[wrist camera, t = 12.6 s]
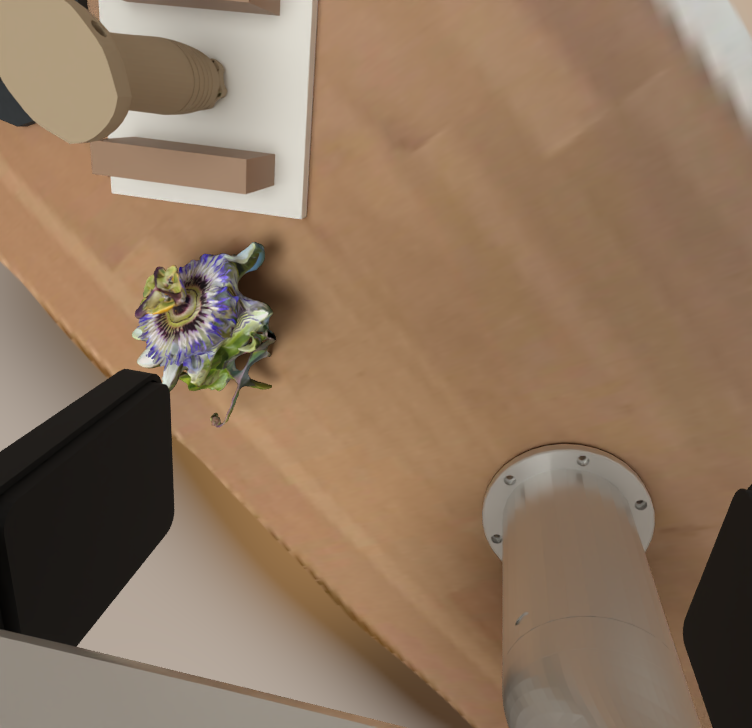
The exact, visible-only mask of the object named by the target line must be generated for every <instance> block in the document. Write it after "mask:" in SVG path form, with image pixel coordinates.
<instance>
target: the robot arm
mask: <svg viewBox="0 0 752 728" xmlns="http://www.w3.org/2000/svg"><path fill="white" fill-rule="evenodd" d="M580 456H584V457H580ZM172 464H173V463H172V436H171V409H170V391H169V388H168V386H167V385H166V384H162V382H161V379H160V377H159V376H158V375H157V374H151V373H146V372H140V371H135V370H129V369H123V370H121V371H119V372H118V373H116V374H115V375H113V376H112V377H110V378H109V379H107V380H106V381H105V382H103V383H101V384H100V385H98V386H97V387H95V388H94V389H93V390H91V391H89V392H88V393H87V394H85V395H84V396H82V397H81V398H79V399H78V400H76V401H75V402H73V403H72V404H70V405H69V406H67V407H66V408H65V409H63V410H61V411H60V412H58V413H57V414H55V415H54V416H52V417H51V418H49V419H48V420H47V421H45V422H44V423H42V424H41V425H39V426H38V427H36V428H35V429H33V430H32V431H31V432H29V433H27V434H26V435H24V436H23V437H21V438H20V439H18V440H17V441H15V442H14V443H13V444H11V445H10V446H8V447H7V448H5V449H4V450H2V451H1V452H0V728H406V727H402V726H398V725H394V724H390V723H386V722H382V721H378V720H374V719H370V718H366V717H362V716H358V715H354V714H350V713H346V712H342V711H338V710H334V709H330V708H325V707H321V706H317V705H313V704H309V703H305V702H301V701H297V700H293V699H289V698H285V697H281V696H277V695H273V694H269V693H264V692H260V691H256V690H253V689H249V688H244V687H240V686H236V685H232V684H228V683H224V682H219V681H215V680H211V679H207V678H203V677H199V676H195V675H190V674H186V673H182V672H178V671H174V670H170V669H166V668H162V667H157V666H153V665H149V664H145V663H141V662H137V661H133V660H129V659H124V658H120V657H116V656H112V655H108V654H104V653H100V652H95V651H91V650H87V649H83V648H79V647H77V645H78V644H79V643H80V641H81V640H82V639H83V638H84V636H85V635H86V634H87V633H88V631H89V630H90V629H91V628H92V626H93V625H94V624H95V623H96V621H97V620H98V619H99V618H100V616H101V615H102V614H103V613H104V611H105V610H106V609H107V608H108V606H109V605H110V604H111V603H112V601H113V600H114V599H115V598H116V596H117V595H118V594H119V592H120V591H121V590H122V589H123V588H124V586H125V585H126V584H127V583H128V581H129V580H130V579H131V578H132V576H133V575H134V574H135V573H136V571H137V570H138V569H139V568H140V566H141V565H142V563H144V561H145V560H146V559H147V558H148V556H149V555H150V554H151V552H152V551H153V550H154V549H155V547H156V546H157V545H158V544H159V543H160V541H161V540H162V539H163V538H164V536H165V535H166V534H167V532H168V531H169V529H170V527H171V524H172V521H173V517H174V490H173V465H172ZM509 475H511V476H509ZM482 518H483V528H484V532H485V536H486V539H487V540H488V542H489V544H490V546H491V548H492V550H493V551H494V552H495V554H496V555H497V556H498V558H499V559H500V560H501V561H502V697H503V706H504V711H505V715H506V719H507V723H508V726H509V728H702V727H701V724H700V721H699V718H698V716H697V713H696V710H695V707H694V704H693V701H692V698H691V695H690V692H689V689H688V686H687V683H686V679H685V676H684V673H683V670H682V667H681V664H680V661H679V658H678V655H677V651H676V648H675V645H674V642H673V639H672V636H671V633H670V629H669V626H668V623H667V620H666V617H665V614H664V611H663V608H662V605H661V601H660V598H659V595H658V592H657V589H656V586H655V583H654V580H653V577H652V573H651V570H650V567H649V564H648V561H647V558H646V555H645V552H646V550H647V548H648V546H649V544H650V542H651V540H652V537H653V532H654V527H655V512H654V508H653V505H652V501H651V498H650V496H649V493H648V491H647V489H646V486H645V485H644V483H643V482H642V480H641V479H640V478H639V476H638V475H637V473H635V472H634V471H633V470H632V469H631V468H630V467H629V466H628V465H627V464H626V463H624V462H623V461H621V460H620V459H618V458H616V457H615V456H613V455H611V454H609V453H607V452H604V451H602V450H599V449H597V448H592V447H588V446H583V445H575V444H557V445H548V446H543V447H540V448H536V449H532V450H529V451H527V452H525V453H523V454H521V455H519V456H517V457H515V458H514V459H512V460H511V461H510V462H508V463H507V464H506V465H504V466H503V467H502V468H501V469H500V471H499V472H498V473H497V474H496V475H495V476H494V478H493V479H492V481H491V483H490V484H489V486H488V488H487V491H486V494H485V497H484V501H483V511H482ZM683 639H684V644H685V647H686V650H687V653H688V656H689V659H690V662H691V665H692V668H693V671H694V674H695V677H696V680H697V683H698V686H699V689H700V691H701V694H702V697H703V700H704V703H705V706H706V709H707V712H708V715H709V718H710V721H711V724H712V727H713V728H752V484H751V486H750V487H749V488H748V489H747V490H746V489H739V490H738V491H737V492H736V493H735V495H734V497H733V499H732V501H731V504H730V507H729V509H728V512H727V514H726V517H725V519H724V522H723V524H722V527H721V529H720V532H719V534H718V537H717V539H716V542H715V544H714V547H713V549H712V552H711V554H710V557H709V560H708V562H707V565H706V567H705V570H704V572H703V575H702V577H701V580H700V582H699V585H698V587H697V590H696V592H695V595H694V597H693V600H692V602H691V605H690V607H689V610H688V612H687V615H686V618H685V621H684V626H683Z"/></svg>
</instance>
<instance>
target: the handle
mask: <svg viewBox="0 0 752 728" xmlns="http://www.w3.org/2000/svg"><path fill="white" fill-rule="evenodd" d="M224 71H225V70H224V67H223V66H222V64H221V63H220V62H219V61H217V60H216V59H213V58H211V59H210V58H209V57H208V56H206V55H205V54H204V53H202V52H201V51H199V50H197V49H195V48H193V47H191V46H189V45H186V44H184V43H181V42H178V41H175V40H171V39H167V38H162V37H155V36H143V35H131V34H121V33H112V32H109V31H108V30H107V29H106V28H105V27H104V25H103V24H102V23H101V22H100V21H99V20H98V19H97V18H96V17H94V16H93V15H92V14H91V13H90V12H89V11H88V10H87V9H86V8H84V7H83V6H82V5H80V4H79V3H78V2H76V1H75V0H0V77H1V79H2V81H3V83H4V84H5V86H6V87H7V89H8V90H9V92H10V93H11V94H12V95H13V97H14V98H15V99H16V100H17V102H18V103H19V104H20V106H21V107H22V108H23V109H24V111H25V112H26V113H27V114H28V115H29V116H30V117H31V118H32V120H33V121H35V122H36V123H37V124H39V125H40V126H41V127H43V128H44V129H46V130H47V131H49V132H51V133H52V134H54V135H56V136H57V137H59V138H61V139H63V140H64V141H66V142H68V143H69V144H74V143H88V142H94V141H99V140H101V139H103V138H105V137H107V136H109V135H110V134H111V133H113V132H114V131H115V130H116V129H117V128H118V127H119V126H120V125H121V123H122V122H123V121H124V119H125V117H126V116H127V114H128V111H137V112H145V113H153V114H161V115H181V114H188V113H193V112H197V111H200V110H207V109H211V108H213V107H214V105H215V103H216V102H217V100H219V99H220V98H224V97H225V96H226V94H227V89H226V87H225V84H224V78H223V74H224Z"/></svg>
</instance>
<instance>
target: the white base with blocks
mask: <svg viewBox="0 0 752 728" xmlns="http://www.w3.org/2000/svg"><path fill="white" fill-rule="evenodd" d="M317 12H318V0H99V14H100V22H101V23H102V24H103V25H104V27H105V28H106V29H107V30H108V31H109V32H112V33H121V34H131V35H143V36H155V37H162V38H167V39H171V40H175V41H178V42H181V43H184V44H186V45H189V46H191V47H193V48H195V49H197V50H199V51H201V52H202V53H204V54H205V55H206V56H208V57H209V58H210V59H211V58H213V59H216V60H217V61H219V62H220V63H221V64H222V66H223V67H224V70H225V71H224V74H223V78H224V84H225V87H226V89H227V94H226V96H225V97H224V98H220V99H219V100H217V102H216V103H215V105H214V107H213V108H211V109H207V110H200V111H197V112H193V113H188V114H181V115H161V114H153V113H145V112H137V111H128V114H127V116H126V117H125V119H124V121H123V122H122V123H121V125H120V126H119V127H118V128H117V129H116V130H115V131H114V132H113V133H111V134H110V135H109V136H108V139H101V140H99V141H94V142H90V148H91V160H92V173H93V174H97V175H105V176H111V188H112V193H114V194H122V195H129V196H136V197H143V198H151V199H158V200H165V201H172V202H180V203H187V204H194V205H201V206H209V207H216V208H223V209H230V210H238V211H245V212H252V213H259V214H267V215H274V216H281V217H288V218H296V219H303V218H305V217H306V216H307V198H308V179H309V161H310V142H311V124H312V105H313V86H314V68H315V49H316V31H317Z"/></svg>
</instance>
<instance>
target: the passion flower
mask: <svg viewBox="0 0 752 728" xmlns="http://www.w3.org/2000/svg"><path fill="white" fill-rule="evenodd" d="M264 259H265V251H264V247H263V245H261V244H259V243H256V242H252V243H251V244H250V245H249V246H248V247H247V248H246V249H245V250H243V251H241V252H240V253H239V254H238V255H235V254H233V255H232V256H230V255H228V254H224V253H222V254H219V255H215V256H214V255H211V254H203V255H202V256H201V257H200V260H198V261H195V260H191V262H190V263H188V264H187V265H186V266H185V267H180V268H179V272H177V271H178V270H177V267H176V266H174V265H173V266H171V267H169V268H168V269H167V270H165V269H164V268H163V267H157V268H156V270H155V271H154V274H153V275H151V276H149V278H148V279H147V281H146V285H145V287H144V292H143V297H144V299H143V300H142V302H141V304H140V306H139V308H138V309H137V310H136V311H135V317H136V318H138V319H140V320H139V324H140V326H138V327H137V328H136V329H135V330H134V332H133V333H132V337H133V338H134V339H137V340H142V341H147V342H146V343H147V347H146V350H145V351H144V352H143V353H142V354H141V356H140V357H139V358H138V360H137V363H138V364H139V365H140V366H142V367H145V368H155V367H159V366H165V367H164V371H163V372H164V373H163V377H162V380H163V383H162V384H166V385H167V386H168V388H169V391H171V390H172V389H173V388H174V387H175V385H176V384H177V381H178V379H180V380H182V381H183V382H185V383H187V384H188V389H189V390H191V391H196V390H200V389H206V388H210V389H211V390H214V389H216V390H217V391H221V390H222V389H223V388H224V387H225V386H226V384H227V383H228V382H229V380H230V379H234V380H235V381H236V383H237V384H238V387H237V390H236V392H235V395H234V397H233V399H232V404H231V406H230V409H229V411H228V413H227V416H226V418H225V421H224V422H223V423H221V422H220V418H219V417H218V414H217V413H214V414H213V415H212V416H211V418H210V420H211V422H212V425H213V426H216V427H221V426H222V425H223V424H225V423H226V422H227V421H228V419H229V416H230V414H231V412H232V410H233V407H234V405H235V403H236V399H237V397H238V395H239V391H240V389H241V388H242V387H244V386H249V387H253V388H259V389H269V388H272V385H268V384H265V383H262V382H258V381H255V380H253V379H251V378H250V377H249V375H248V371H249V368H250V367H251V366H252V365H253V364H254V363H255V362H257V361H259V360H260V359H262V358H265V357H267V356H268V357H270V356H271V354H270V353H269V352H267V349H268V346H269V345H270V344H271V343H274V342H275V340H276V336H275V335H274V333H273V332H271V331H270V330H269V326H268V324H269V318H270V317H271V316H272V315H273V312H272V310H271V308H270V307H269V306H268V305H267V304H266V303H264V302H260V301H256V300H253V299H250V298H247V297H245V296H244V295H242V294H241V293H240V291H239V289H238V282H239V280H240V279H241V277H242V276H243V275H244V274H246V273H247V272H249V271H254V270H257V269H258V267H260V266H261V265H262V263H263V261H264ZM178 273H179V274H178ZM257 332H263V334H257ZM250 337H252V342H250V343H248V342H249V339H250ZM266 339H268V340H267V341H265V342H264V343H263V342H262V341H263V340H266ZM248 352H250V353H251V355H250V357H249V359H248V362H247V364H246V366H245V368H244V369H243V370H242V371H239V370H238V369H236V366H235V359H236V358H237V357H238V356H240V355H242V354H245V353H248ZM183 370H187V373H186V372H182V371H183Z"/></svg>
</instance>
